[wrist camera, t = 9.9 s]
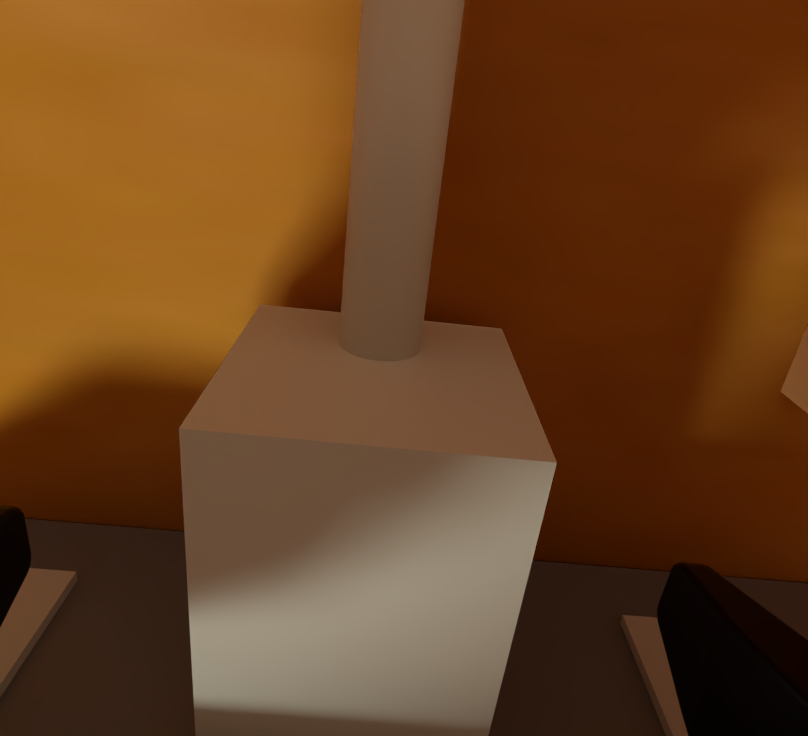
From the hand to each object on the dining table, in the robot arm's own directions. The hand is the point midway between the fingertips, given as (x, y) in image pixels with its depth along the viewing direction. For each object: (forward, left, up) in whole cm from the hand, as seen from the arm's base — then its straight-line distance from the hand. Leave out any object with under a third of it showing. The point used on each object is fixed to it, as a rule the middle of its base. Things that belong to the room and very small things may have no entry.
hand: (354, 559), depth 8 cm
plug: (+3, 0, -3) cm, 4 cm away
